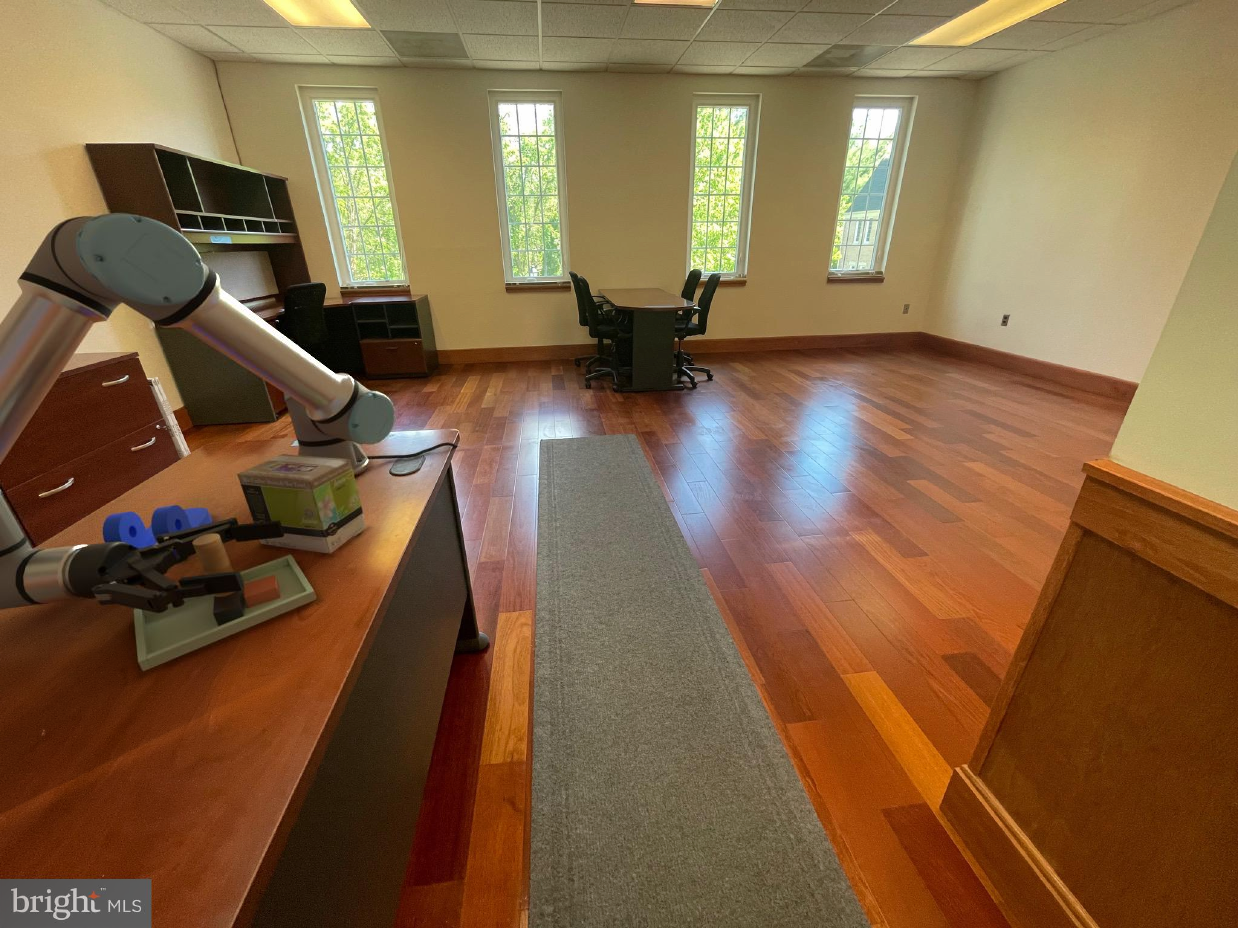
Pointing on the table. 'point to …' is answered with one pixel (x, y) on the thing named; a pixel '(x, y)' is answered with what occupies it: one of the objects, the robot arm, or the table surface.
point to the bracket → (152, 525)
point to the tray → (197, 624)
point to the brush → (218, 562)
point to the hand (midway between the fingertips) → (262, 552)
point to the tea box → (305, 500)
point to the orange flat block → (261, 591)
